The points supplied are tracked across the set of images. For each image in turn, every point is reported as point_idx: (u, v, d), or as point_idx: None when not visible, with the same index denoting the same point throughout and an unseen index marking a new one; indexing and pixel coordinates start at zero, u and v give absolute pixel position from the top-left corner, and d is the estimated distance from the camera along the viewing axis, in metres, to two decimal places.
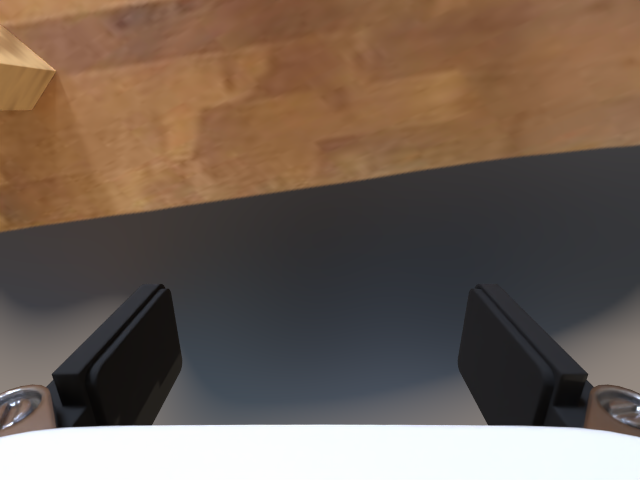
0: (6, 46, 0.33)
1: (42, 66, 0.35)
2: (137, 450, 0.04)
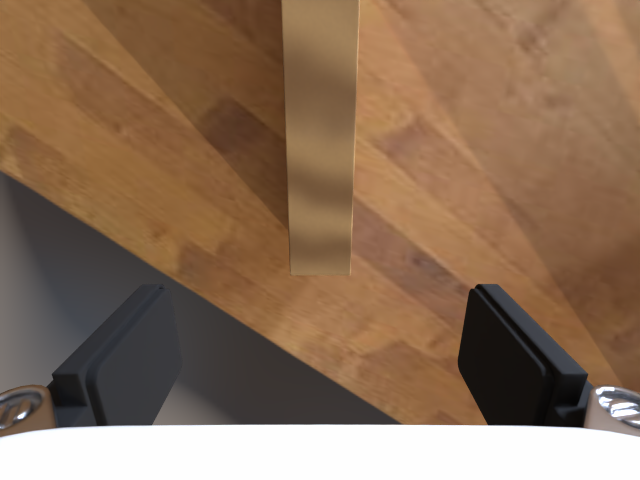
0: None
1: None
2: (137, 450, 0.04)
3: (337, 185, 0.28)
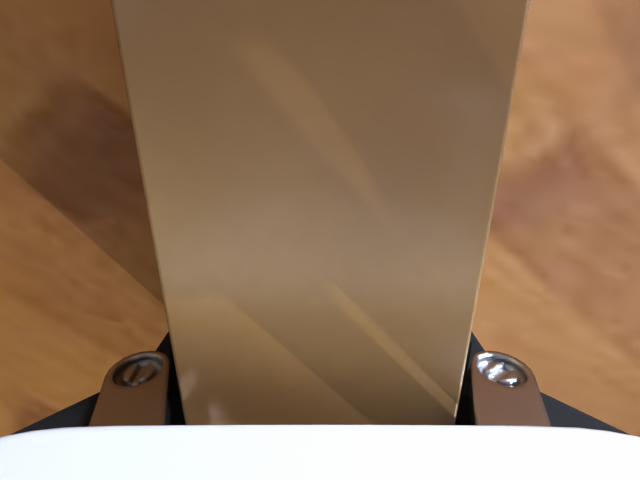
0: None
1: None
2: (137, 450, 0.04)
3: None
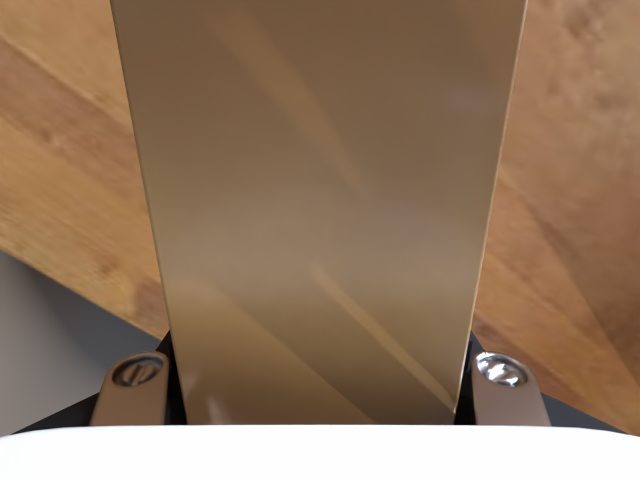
0: None
1: None
2: (137, 450, 0.04)
3: (389, 424, 0.07)
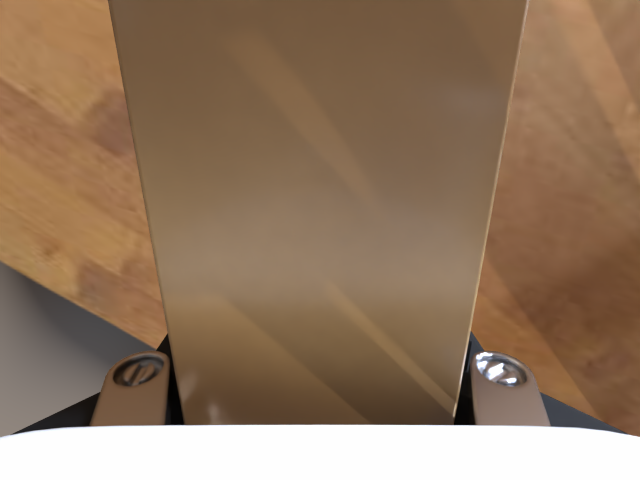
0: None
1: None
2: (137, 450, 0.04)
3: None
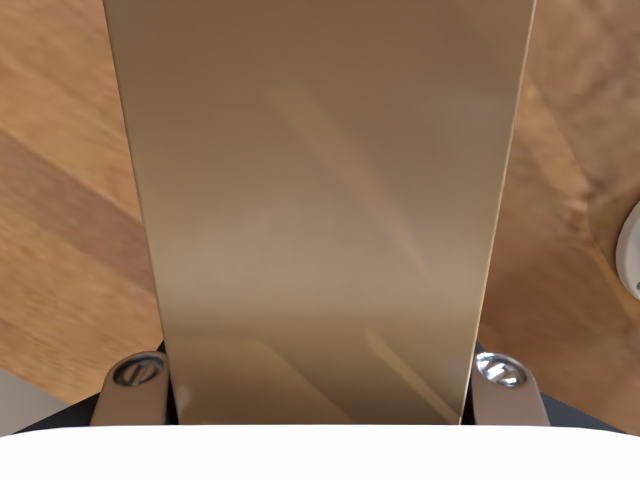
0: None
1: None
2: (137, 450, 0.04)
3: None
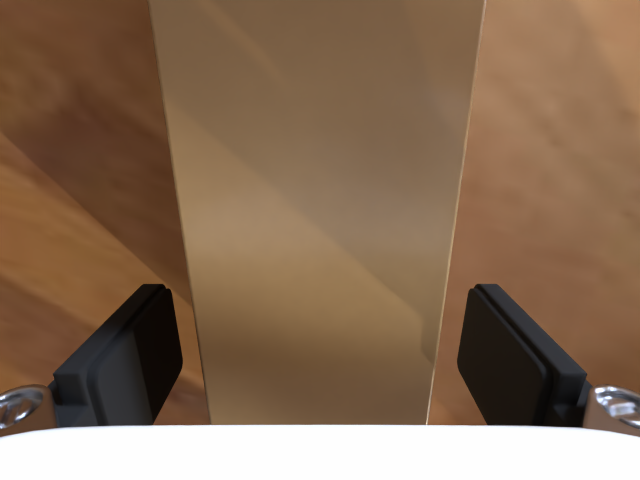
0: None
1: None
2: (137, 450, 0.04)
3: (378, 375, 0.08)
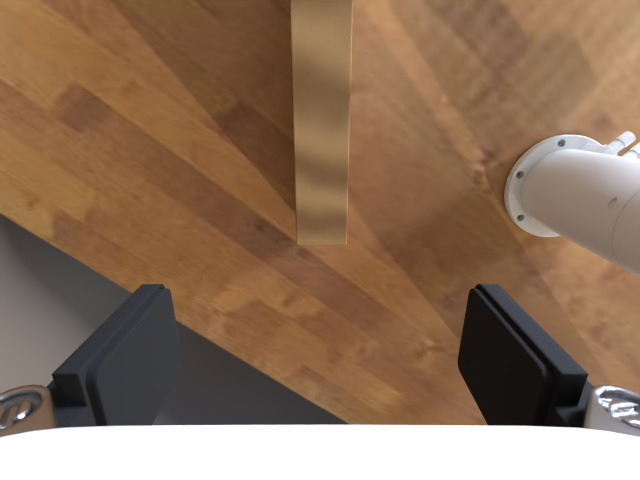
0: None
1: None
2: (137, 450, 0.04)
3: (335, 169, 0.35)
